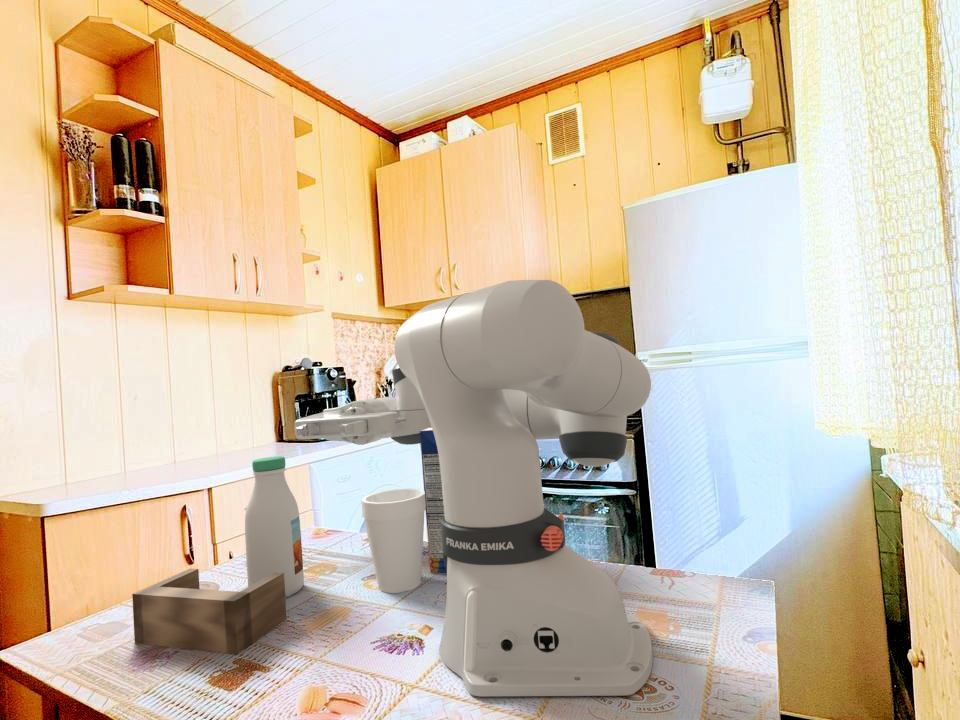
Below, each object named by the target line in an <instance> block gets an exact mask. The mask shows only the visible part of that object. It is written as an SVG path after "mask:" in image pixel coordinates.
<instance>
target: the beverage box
mask: <svg viewBox="0 0 960 720" xmlns="http://www.w3.org/2000/svg"><path fill="white" fill-rule="evenodd" d="M420 442H421V443H420V450H421V451H420V452H421V465H422V466H421V467H422V480H423V491H425V500H426V510H425V518H426V519H425V520H426V530H427V531H426V533H427V545H428V558H429V559H428V560H429V570H430V572H429V573H430V574H447V568H446V567H445V565H444V558H443V552H442V542H441V533H442V531H441V519H442V517H443V516H444V504H443V493H442V483H441V473H440V463H439V455H438V449H437V444H436V440H435V436H434V433H433V430H432V427H431V428H428V429H425V430H422V431H420Z"/></svg>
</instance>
